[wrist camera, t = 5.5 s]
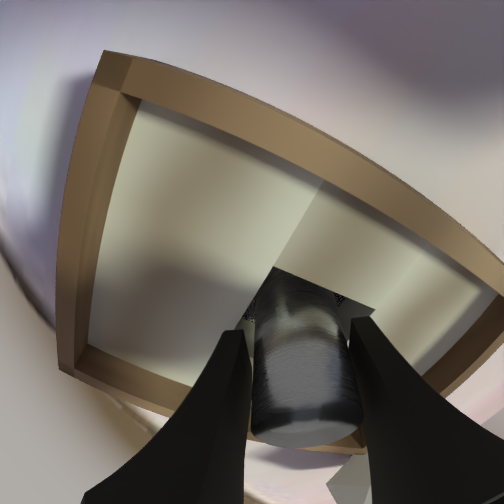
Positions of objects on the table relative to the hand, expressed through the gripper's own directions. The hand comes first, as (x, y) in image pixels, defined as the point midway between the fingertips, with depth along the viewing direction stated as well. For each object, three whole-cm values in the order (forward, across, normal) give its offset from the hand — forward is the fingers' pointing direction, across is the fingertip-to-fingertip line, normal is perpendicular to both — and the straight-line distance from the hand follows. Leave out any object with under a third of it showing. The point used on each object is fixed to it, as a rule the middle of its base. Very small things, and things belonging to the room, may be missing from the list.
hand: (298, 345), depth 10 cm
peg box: (+3, 0, 0) cm, 3 cm away
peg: (+3, 0, 0) cm, 3 cm away
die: (+3, -6, +17) cm, 19 cm away
